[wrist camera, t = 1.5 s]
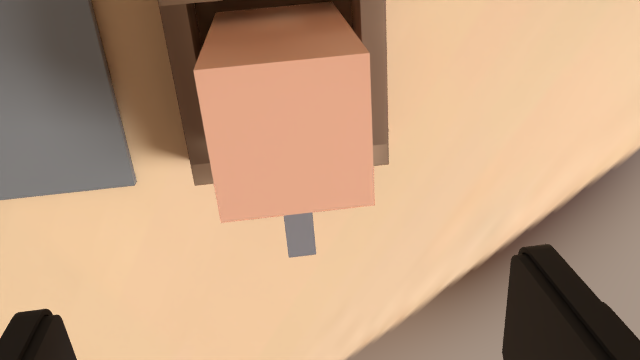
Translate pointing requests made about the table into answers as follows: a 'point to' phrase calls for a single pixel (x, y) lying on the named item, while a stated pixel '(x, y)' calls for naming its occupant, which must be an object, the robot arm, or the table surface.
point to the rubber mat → (57, 103)
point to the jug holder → (187, 47)
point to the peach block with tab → (286, 116)
